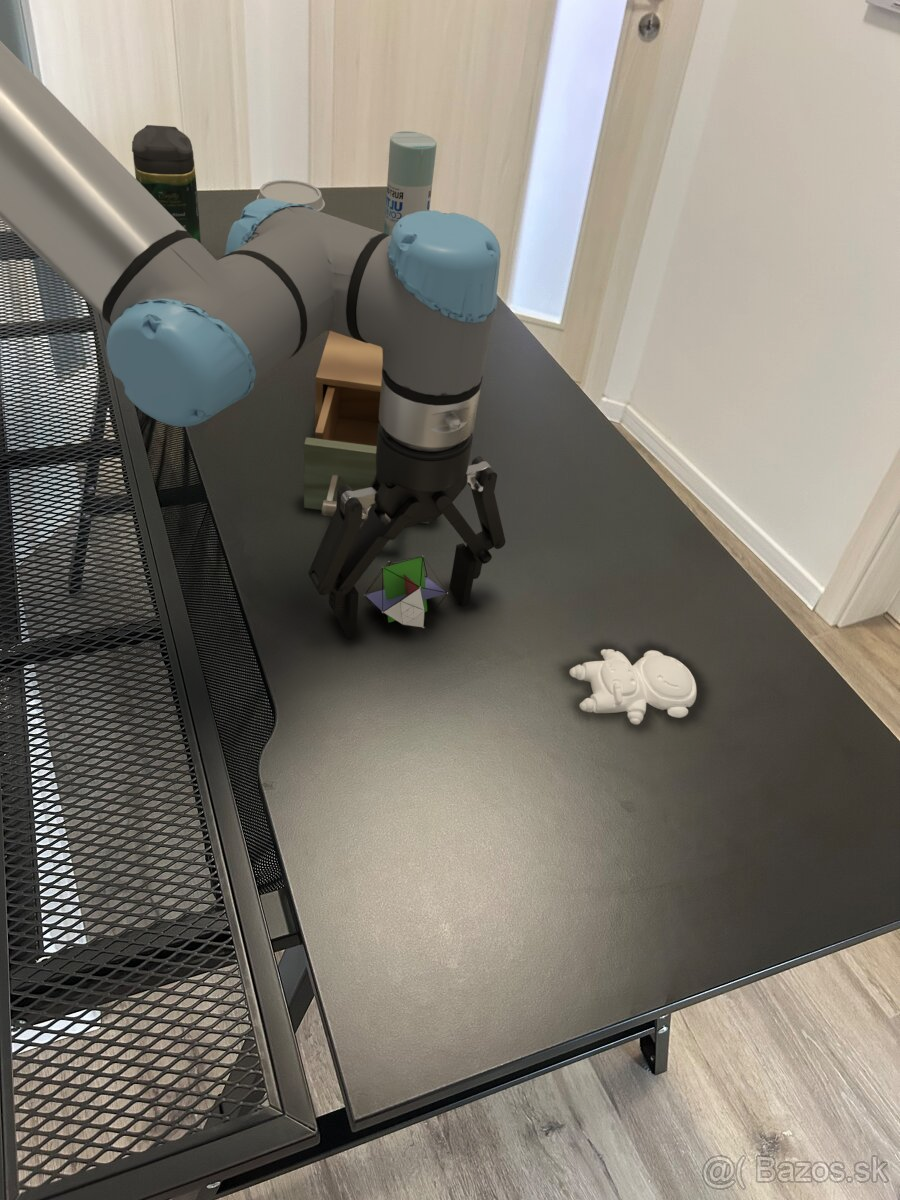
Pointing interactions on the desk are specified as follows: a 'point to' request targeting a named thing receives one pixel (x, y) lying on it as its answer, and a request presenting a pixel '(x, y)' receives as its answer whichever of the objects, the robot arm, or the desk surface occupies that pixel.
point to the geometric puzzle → (405, 592)
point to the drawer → (341, 447)
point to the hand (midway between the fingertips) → (403, 616)
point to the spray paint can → (409, 176)
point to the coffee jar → (168, 172)
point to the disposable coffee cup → (293, 193)
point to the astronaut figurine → (637, 685)
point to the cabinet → (347, 367)
